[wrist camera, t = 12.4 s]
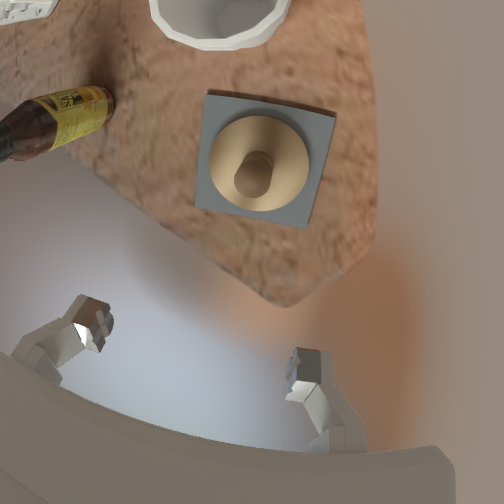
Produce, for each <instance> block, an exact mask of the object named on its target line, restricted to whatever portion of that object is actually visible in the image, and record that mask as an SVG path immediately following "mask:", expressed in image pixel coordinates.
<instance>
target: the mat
mask: <svg viewBox="0 0 504 504" xmlns="http://www.w3.org/2000/svg"><path fill="white" fill-rule="evenodd" d="M260 115H261V116H268V117H272V118H276V119H278V120H281V121H282V122H284V123H286V124H287V125H289V126H290V127H291V128H293V129H294V130H295V131H296V132H297V134H298V135H299V136H300V137H301V139H302V141H303V143H304V145H305V147H306V150H307V154H308V158H309V173H308V177H307V180H306V183H305V185H304V187H303V189H302V190H301V192H300V193H299V194H298V195H297V196H296V198H294V199H293V200H292V201H291V202H289V203H288V204H286V205H284V206H282V207H280V208H277V209H274V210H269V211H252V210H247V209H244V208H241V207H239V206H237V205H235V204H233V203H231V202H230V201H228V200H227V199H226V198H225V197H224V196H223V195H222V194H221V193H220V192H219V191H218V189H217V188H216V187H215V185H214V183H213V181H212V178H211V175H210V171H209V153H210V149H211V146H212V144H213V142H214V140H215V139H216V137H217V136H218V134H219V133H220V132H221V131H222V130H223V129H224V128H225V127H227V126H228V125H229V124H231V123H233V122H234V121H236V120H238V119H241V118H244V117H248V116H260ZM335 119H336V118H335V117H331V116H328V115H324V114H320V113H316V112H312V111H307V110H303V109H298V108H294V107H289V106H284V105H279V104H274V103H268V102H263V101H257V100H250V99H244V98H236V97H229V96H220V95H211V94H206V96H205V104H204V112H203V121H202V130H201V139H200V149H199V159H198V171H197V183H196V196H195V207H197V208H203V209H208V210H213V211H219V212H224V213H229V214H234V215H239V216H244V217H249V218H254V219H259V220H264V221H269V222H274V223H278V224H283V225H288V226H293V227H297V228H302V229H306V227H307V224H308V220H309V217H310V213H311V210H312V206H313V203H314V199H315V196H316V192H317V189H318V185H319V181H320V178H321V174H322V170H323V166H324V163H325V159H326V155H327V151H328V147H329V143H330V139H331V135H332V131H333V127H334V123H335Z"/></svg>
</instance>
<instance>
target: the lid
mask: <svg viewBox="0 0 504 504" xmlns="http://www.w3.org/2000/svg"><path fill="white" fill-rule="evenodd" d="M209 171H210V175H211V178H212V181H213V183H214V185H215V187H216V188H217V189H218V191H219V192H220V193H221V194H222V195H223V196H224V197H225V198H226V199H227V200H228V201H230V202H231V203H233V204H235V205H237V206H239V207H241V208H244V209H247V210H252V211H269V210H274V209H277V208H280V207H282V206H284V205H286V204H288V203H289V202H291V201H292V200H293V199H294V198H296V196H297V195H298V194H299V193H300V192H301V190H302V189H303V187H304V185H305V183H306V180H307V177H308V173H309V158H308V154H307V150H306V147H305V145H304V143H303V141H302V139H301V137H300V136H299V135H298V134H297V132H296V131H295V130H294V129H293V128H291V127H290V126H289V125H287V124H286V123H284V122H282V121H281V120H278V119H276V118H272V117H268V116H261V115H260V116H248V117H244V118H241V119H238V120H236V121H234V122H233V123H231V124H229V125H228V126H227V127H225V128H224V129H223V130H222V131H221V132H220V133H219V134H218V136H217V137H216V139H215V140H214V142H213V144H212V146H211V149H210V153H209Z"/></svg>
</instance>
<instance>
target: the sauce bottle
mask: <svg viewBox="0 0 504 504" xmlns="http://www.w3.org/2000/svg"><path fill="white" fill-rule="evenodd" d="M113 111H114V100H113V97H112V95H111V93H110V92H109V91H108V90H107V89H106V88H104V87H101V86H85V87H79V88H74V89H69V90H64V91H60V92H55V93H51V94H47V95H43V96H40V97H36V98H32V99H29V100H26V101H24V102H23V103H22V104H21V105H19V106H18V107H17V108H16V109H14V110H13V111H12V112H11V113H10V114H8V115H7V116H6V117H5V118H4V119H3V120H1V121H0V162H3V161H6V160H7V159H8V158H10V159H14V160H16V161H25V160H28V159H31V158H34V157H35V156H38V155H39V154H41V153H46V152H48V151H50V150H52V149H54V148H57V147H59V146H61V145H63V144H65V143H68V142H70V141H72V140H75V139H77V138H80V137H82V136H84V135H87V134H89V133H92V132H94V131H96V130H98V129H99V128H101V127H103V126H104V125H106V124H107V123H108V122H109V121H110V119H111V118H112V115H113Z"/></svg>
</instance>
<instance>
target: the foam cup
mask: <svg viewBox="0 0 504 504" xmlns="http://www.w3.org/2000/svg"><path fill="white" fill-rule="evenodd" d="M291 2H292V0H149V4H150V10H151V17H152V20H153V21H154V22H155V23H156V24H157V25H158V26H159V28H160V29H161V30H162V31H163V32H164V33H165V35H166V36H167V37H168V38H171V39H174V40H176V41H179V42H182V43H184V44H187V45H189V46H192V47H194V48H198V49H201V50H205V51H209V50H232V51H234V50H237V49H239V48H252V47H255V46H258V45H260V44H263V43H265V42H266V41H267V40H268V39H269V38H270V37H272V36H273V35H274V33H275V31H276V29H277V27H278V26H279V25H280V24H281V23H283V22H284V20H285V17H286V14H287V12H288V9H289V7H290V4H291Z"/></svg>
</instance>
